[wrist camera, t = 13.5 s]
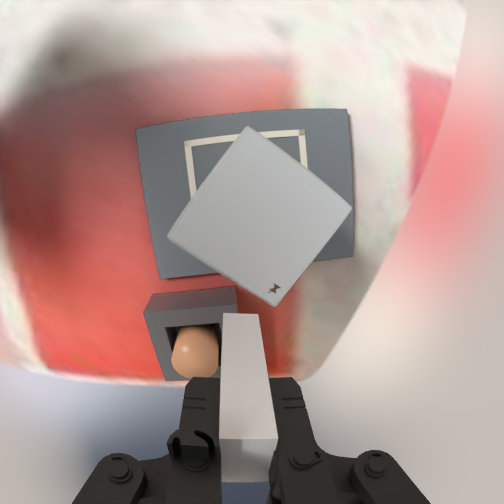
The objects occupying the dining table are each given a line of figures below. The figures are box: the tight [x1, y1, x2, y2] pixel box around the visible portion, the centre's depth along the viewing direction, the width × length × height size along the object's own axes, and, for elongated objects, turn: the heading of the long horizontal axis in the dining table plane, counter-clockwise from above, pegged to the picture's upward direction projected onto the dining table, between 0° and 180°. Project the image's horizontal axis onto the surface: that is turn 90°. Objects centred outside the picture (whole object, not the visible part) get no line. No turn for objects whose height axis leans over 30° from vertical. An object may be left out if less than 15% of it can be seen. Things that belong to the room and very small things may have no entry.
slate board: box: [136, 109, 354, 279], centre depth 27 cm, size 20×15×1 cm
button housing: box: [143, 286, 239, 381], centre depth 30 cm, size 9×9×4 cm
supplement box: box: [167, 126, 352, 307], centre depth 21 cm, size 7×7×13 cm
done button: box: [171, 324, 219, 379], centre depth 28 cm, size 4×4×4 cm
